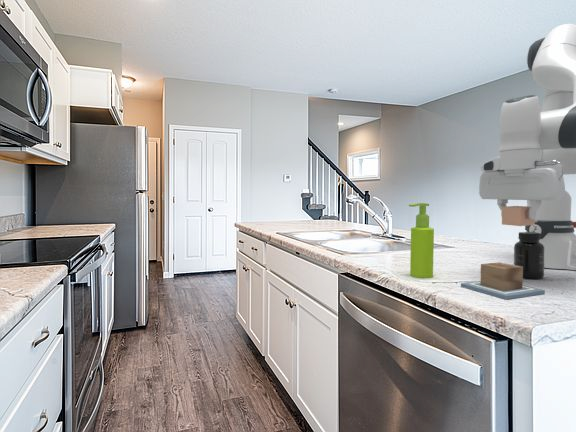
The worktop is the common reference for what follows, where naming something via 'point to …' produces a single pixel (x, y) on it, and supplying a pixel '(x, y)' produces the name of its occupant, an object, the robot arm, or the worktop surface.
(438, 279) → the worktop surface
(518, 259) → the supplement bottle
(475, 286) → the board
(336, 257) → the worktop surface
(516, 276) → the walnut block
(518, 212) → the terracotta block
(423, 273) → the soap dispenser
